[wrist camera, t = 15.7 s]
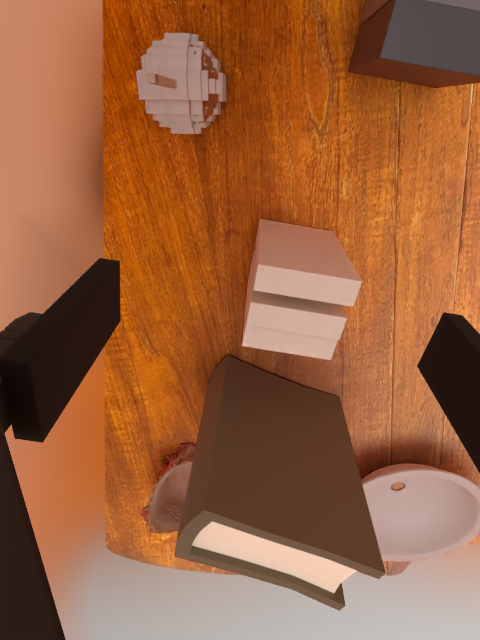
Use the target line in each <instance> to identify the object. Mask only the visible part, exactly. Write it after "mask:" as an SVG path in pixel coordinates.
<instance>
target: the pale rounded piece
mask: <svg viewBox="0 0 480 640" xmlns="http://www.w3.org/2000/svg"><path fill="white" fill-rule="evenodd" d="M164 38H165V39H162V41H152V47H149V48H146V50H147V55H144V56H141V63H142V70H139V71H136V75H137V85H138V95H139V100H145V106H146V113H149V114H152V119H153V120H155V121H159V127H168V128H171V134H201V133H202V128H206V127H207V126H211V121H213V120H216V115H219V114H221V102H227V95H226V76H224V73H221V62H219V60H218V59H216V58H215V55H212V51H211V50H209V48H206V44H205V43H204V42H203V41H199V36H198V35H197V34H190V33H164Z"/></svg>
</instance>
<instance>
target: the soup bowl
mask: <svg viewBox="0 0 480 640" xmlns="http://www.w3.org/2000/svg"><path fill="white" fill-rule="evenodd" d="M361 481H362V485H363V489H364V493H365V497H366V500H367V504H368V508H369V512H370V516H371V519H372V523H373V527H374V531H375V535H376V538H377V542H378V546H379V550H380V554H381V557H382V560H385V561H397V562H407V561H418V560H425V559H430V558H434V557H438V556H441V555H444V554H447V553H450V552H452V551H454V550H456V549H459V548H460V547H462V546H464V545H466V544H467V543H469V542H470V541H471V540H472V539H474V538H475V537H476V536H477V535H478V534H479V533H480V488H479V487H478V486H477V485H476V484H475V483H474V482H472V481H471V480H469V479H467V478H465V477H463V476H461V475H458V474H455V473H452V472H448V471H444V470H441V469H438V468H435V467H432V466H428V465H422V464H412V463H405V464H396V465H390V466H387V467H383V468H381V469H378V470H376V471H374V472H372V473H370V474H368V475H367V476H365V477H364V478H363V479H362V480H361ZM397 482H401V483H404V485H405V486H404V488H403V489H401V490H393V489H391V485H392V484H394V483H397Z"/></svg>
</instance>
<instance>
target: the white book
mask: <svg viewBox="0 0 480 640" xmlns="http://www.w3.org/2000/svg"><path fill="white" fill-rule="evenodd" d="M361 284H362V280H361V279H360V277H359V275H358V273H357V272H356V270H355V268H354V266H353V265H352V263H351V261H350V259H349V258H348V256H347V254H346V252H345V251H344V249H343V247H342V245H341V244H340V242H339V240H338V238H337V237H336V235H335V233H334V231H329V230H323V229H317V228H311V227H306V226H300V225H294V224H288V223H282V222H277V221H271V220H265V219H260V220H259V225H258V231H257V236H256V249H255V266H254V284H253V290H254V291H260V292H266V293H272V294H278V295H284V296H290V297H296V298H303V299H309V300H315V301H321V302H327V303H333V304H339V305H345V306H351V307H354V304H355V301H356V298H357V295H358V292H359V290H360V287H361Z"/></svg>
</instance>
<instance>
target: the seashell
mask: <svg viewBox="0 0 480 640" xmlns="http://www.w3.org/2000/svg"><path fill="white" fill-rule="evenodd" d="M195 447H196V446H195V445H193V444H192V443H187V444H181V445H180V447H179V448H177V449H176V452H177V454H173V455H171V456H169V455H168V456H167V460H164V461H162V464H161V467H162V469H161V471H160V473H159V476H160V477H159V479H158V480H159V481H157V482H156V483H155V485H156V486H155V488H154V489H153V490H151V491H150V492H152V493H153V494H152V495H151V496H150V497H149V498H150V501H149V502H148V503H147V505H148V506H146V507H144V508H143V510H141V511H140V514H141V516H142V517H143V518H144V520H145V521H146V522H147V524H146V525H148V526H150V533H159V534H161V533H171V532H174V531H179V527H180V522H181V517H182V512H183V507H184V502H185V497H186V492H187V487H188V482H189V477H190V472H191V467H192V462H193V457H194V452H195Z"/></svg>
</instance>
